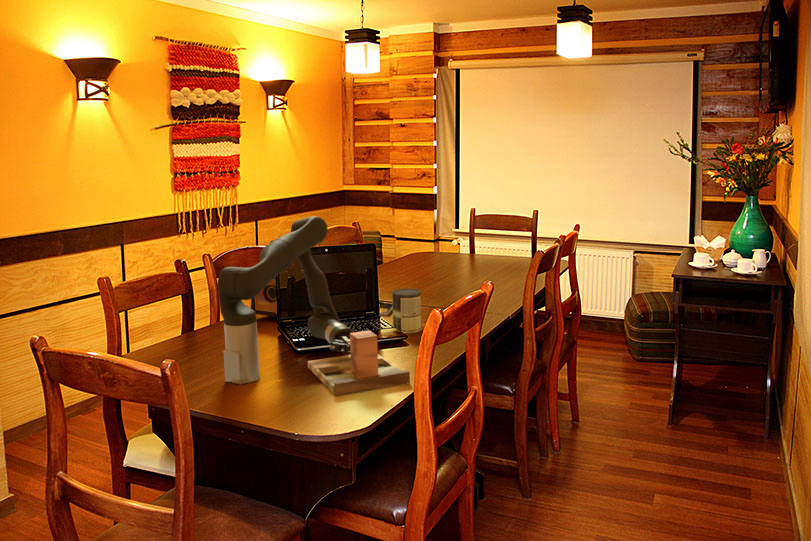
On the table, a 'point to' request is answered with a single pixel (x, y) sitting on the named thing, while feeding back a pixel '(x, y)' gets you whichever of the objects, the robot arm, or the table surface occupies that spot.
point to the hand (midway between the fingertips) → (359, 351)
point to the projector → (266, 300)
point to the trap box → (344, 382)
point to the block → (364, 354)
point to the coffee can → (407, 310)
